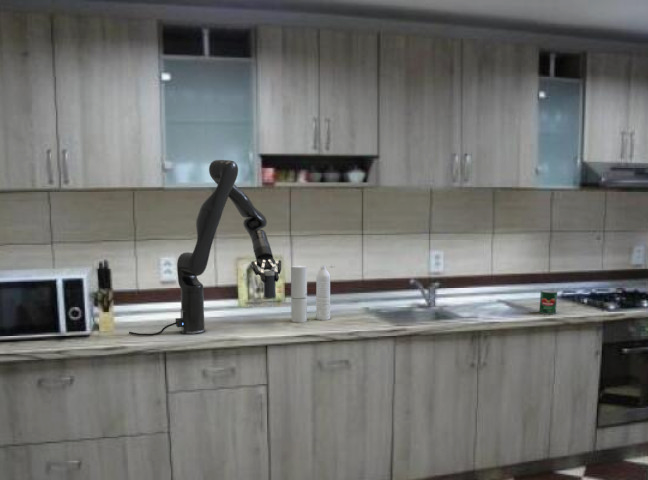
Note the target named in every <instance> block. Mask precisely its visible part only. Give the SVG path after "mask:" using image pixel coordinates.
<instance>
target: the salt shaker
mask: <svg viewBox="0 0 648 480" xmlns="http://www.w3.org/2000/svg"><path fill="white" fill-rule="evenodd" d="M263 273H264V275H265V279H266V281H265V282H264V283H263V297H264V298H268V299H269V298H270V299H271V298H275V297H276V281H275V271H270V270H264V271H263Z"/></svg>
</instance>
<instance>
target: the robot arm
mask: <svg viewBox="0 0 648 480" xmlns="http://www.w3.org/2000/svg"><path fill="white" fill-rule="evenodd" d="M208 173H209V176H210V177H211V179H212V180H213V181H214V182H215V184H216V185H217V186H216V188H215V189H214V191H212V193H211V194H210V195H209V196H208V197H207V198H206V199H205V200H204V201H203V202H202V204H201V206H200V208H199V211H198V214H197V217H196V220H195V228H196V244H195V246H194V249H193V251H192V252H186V251H185V252H183V253H181V254H180V255H179V256H178V258H177V263H176V273H177V283H178V286H179V289H180V305H181V306H180V317H176V318H175V322H173V323H169V324H167V325H165V326H164V327H163V328H162V329H161V330H159V331H158V332H155V333H138V332H133V331H129V332H128V334H129V335H134V336H141V337H142V336H146V337H147V336H157V335H160V334H162V333H163V332H164V331H165V330H166V329H167V328H170V327H173V326H176V328H180V331H181V333H182V334H183V335H186V334H188V335H196V334H197V335H198V334H202V333H204V332H206V328H205V327H206V325H205V300H204V299H205V298H204V297H205V295H204V284H203V283H202V282H201V281H200V280H199V278H198V276H201V275H203V274H204V273H205V271H206V269H207V266H208V263H209V258H210V255H211V249H212V247H213V246H212V245H213V242H214V240H215V236H216V233H217V230H218V228H219V225H220V221H221V219H222V215H223V212H224V209H225V207H226V204H227V201H228V198H229V200H230V201H231V202H232V203H233V205H234V207H235V208H236V210H237V211H238V213H239V215H240V216H241V217H242V218H244V219H243V223H242V224H243V228H244V229H245V231H246V233H248V235H249V237H250V240H251V243H252V249H253V254H254V257H255V260H256V261H253V260H252V261H251V262H250V267H251V269H252V271H253V273H254V275H255V276H259V277H260V281H261V282H262V284H264V282H265V281H266V279H265V275H264V271H275V283H277V282H278V281H279V280H280V276H279V275H280V274H281V272H282V260H280V259H279V260H276V259H274V256H273V251H272V249H271V245H270V242H269V240H268V236H267V233H266V231H265V230H264V229H263V228H265V227H266V226H267V224H268V223H267V217H266V216H265V215H264V214H263V213H262V212H261V211H259V210H258V209H257V208H256V207H255V206H254V204H253V202H252V201H251V199H250V198H249V197H248V194H246V193H245V192H244V191H243V190H241V188H239V187H238V186H237V185H236V184H235V183H236V180H237V179H238V176H239V167H238V164H237V162H236V161H234V160H229V159H214V160H213V161H212V162H211V163H210V165H209V166H208ZM257 266H258V267H259V268H260V269H259V268H258V267H257ZM276 267H277V268H276Z"/></svg>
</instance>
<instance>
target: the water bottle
mask: <svg viewBox="0 0 648 480" xmlns="http://www.w3.org/2000/svg"><path fill="white" fill-rule="evenodd" d="M328 268H335V264H329V265H328ZM315 279H316V280H315V284H316V289H315V292H316V295H315V296H316V298H315V308H316V311H315V313H316V314H315V319H316V320H317V321H318V320H319V321H328V320H330V319H331V275H330V273H329V271H328V270H327V265H320V269H319V271H317V273H316V277H315Z"/></svg>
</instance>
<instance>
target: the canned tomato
mask: <svg viewBox="0 0 648 480" xmlns="http://www.w3.org/2000/svg"><path fill="white" fill-rule="evenodd" d="M539 298H540V299H539V308H538V309H539V311H538V313H539V314H542V315H556V314H557V305H558V304H557V303H558V290H554V289H542V290H540V297H539Z"/></svg>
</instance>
